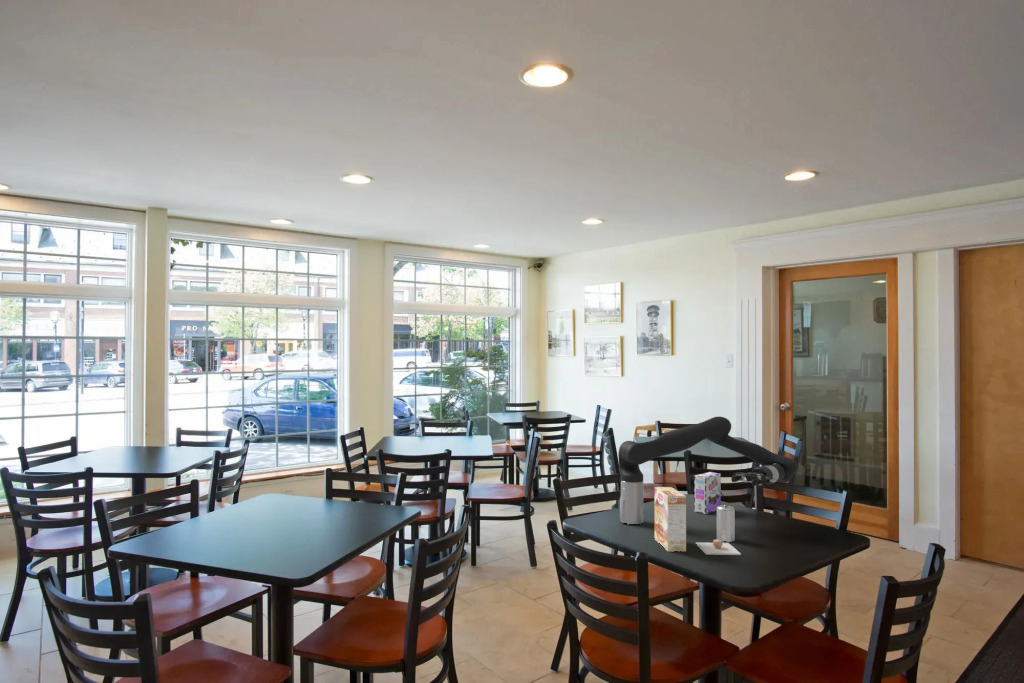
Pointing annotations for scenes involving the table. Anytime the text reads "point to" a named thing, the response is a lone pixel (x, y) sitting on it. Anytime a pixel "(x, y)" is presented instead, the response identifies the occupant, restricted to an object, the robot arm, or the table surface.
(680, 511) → the coffeecake box
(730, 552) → the white mat
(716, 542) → the terracotta bowl
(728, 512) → the faceted metal canister
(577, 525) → the table surface
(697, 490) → the candy box
